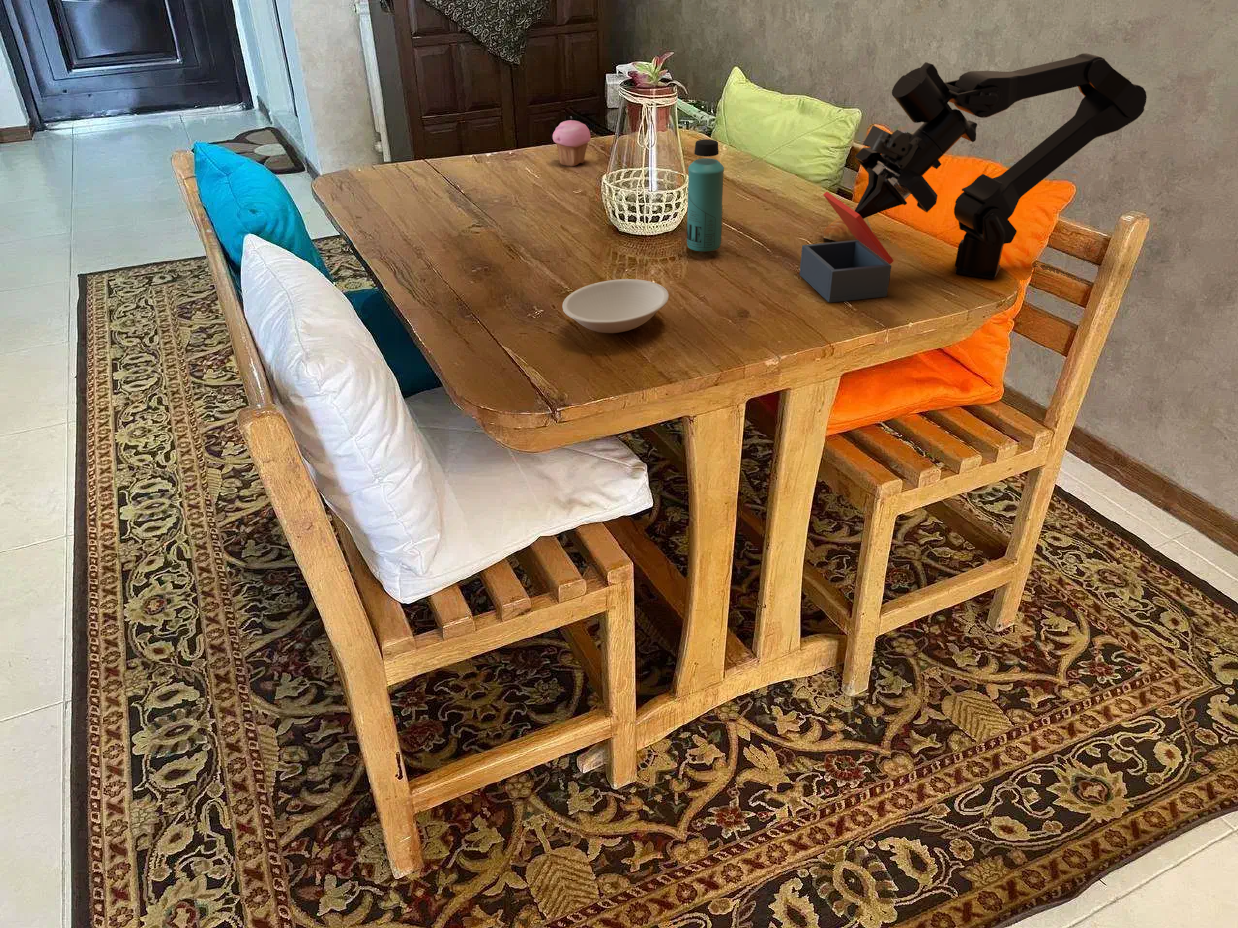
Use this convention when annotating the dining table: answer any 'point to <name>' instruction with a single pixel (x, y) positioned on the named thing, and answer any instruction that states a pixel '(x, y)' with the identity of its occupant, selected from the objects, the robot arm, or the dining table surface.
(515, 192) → the dining table surface
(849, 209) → the lid
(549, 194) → the dining table surface
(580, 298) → the dish
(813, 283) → the lunchbox
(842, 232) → the pastry
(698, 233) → the beverage bottle
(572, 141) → the cupcake
